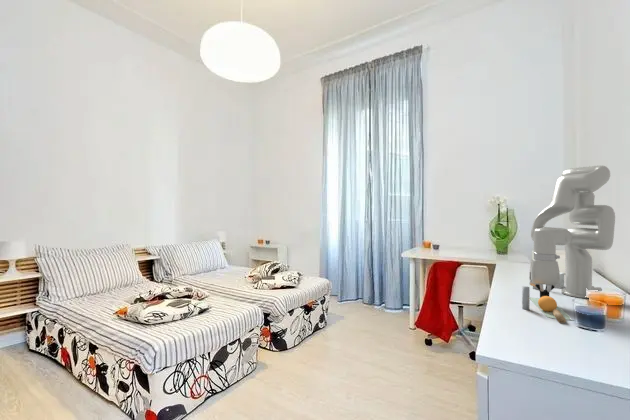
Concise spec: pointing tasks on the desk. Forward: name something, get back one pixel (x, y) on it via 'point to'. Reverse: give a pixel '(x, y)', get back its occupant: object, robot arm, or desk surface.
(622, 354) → the desk surface
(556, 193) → the robot arm
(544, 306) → the ball
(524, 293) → the grey pin
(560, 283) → the skincare box
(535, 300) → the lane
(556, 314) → the maple pin
